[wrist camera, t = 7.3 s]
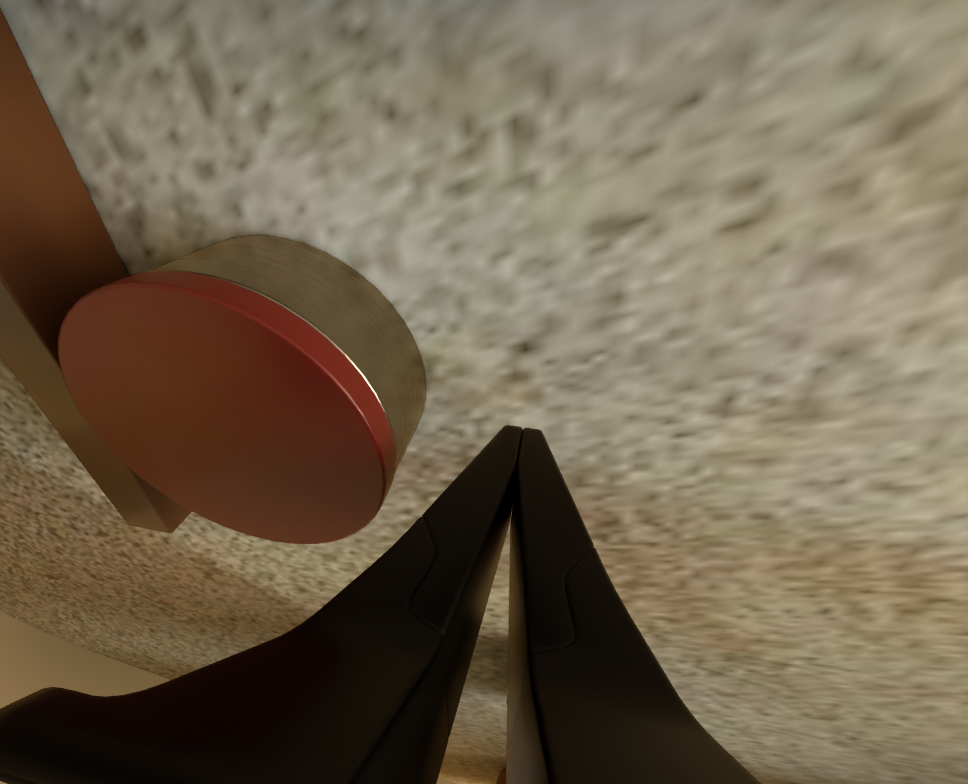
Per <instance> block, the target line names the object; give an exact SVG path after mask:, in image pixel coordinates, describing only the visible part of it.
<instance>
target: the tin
mask: <svg viewBox="0 0 968 784" xmlns="http://www.w3.org/2000/svg"><path fill="white" fill-rule="evenodd" d="M58 358H59V363H60V368H61V372H62V375H63V378H64V381H65V383H66V386H67V389H68V391H69V393H70V395H71V397H72V399H73V401H74V402H75V404H76V406H77V408H78V409H79V411H80V412H81V414H82V415H83V417H84V419H85V420H86V421H87V423H88V424H89V425H90V427H91V428H92V429H93V431H94V432H95V433H96V434H97V436H98V437H99V438H100V439H101V440H102V441H103V442H104V443H105V445H106V446H107V447H108V448H109V449H110V450H111V451H112V452H113V453H114V454H115V455H116V456H117V457H118V458H119V459H120V460H121V461H122V462H123V463H124V464H125V465H127V466H128V467H129V468H130V469H131V470H132V471H134V472H135V473H136V474H137V475H138V476H139V477H141V478H142V479H143V480H145V481H146V482H147V483H149V484H150V485H151V486H153V487H154V488H155V489H157V490H158V491H160V492H161V493H163V494H164V495H166V496H167V497H169V498H170V499H172V500H173V501H175V502H177V503H178V504H180V505H182V506H184V507H185V508H187V509H189V510H191V511H193V512H194V513H196V514H198V515H200V516H202V517H204V518H206V519H208V520H211V521H213V522H215V523H218V524H220V525H222V526H225V527H227V528H230V529H233V530H235V531H238V532H241V533H244V534H248V535H251V536H254V537H258V538H263V539H267V540H271V541H278V542H284V543H294V544H319V543H326V542H332V541H336V540H340V539H343V538H346V537H348V536H350V535H352V534H355V533H356V532H358V531H359V530H361V529H362V528H364V527H365V526H366V525H367V524H368V523H369V522H370V521H371V520H372V519H373V518H374V517H375V516H376V514H377V513H378V511H379V510H380V508H381V506H382V504H383V502H384V500H385V498H386V496H387V494H388V492H389V489H390V487H391V484H392V481H393V478H394V474H395V472H396V470H397V468H398V466H399V464H400V462H401V459H402V457H403V455H404V453H405V451H406V449H407V447H408V445H409V443H410V441H411V439H412V437H413V434H414V432H415V430H416V428H417V426H418V424H419V422H420V419H421V417H422V414H423V411H424V407H425V402H426V376H425V369H424V365H423V362H422V358H421V355H420V351H419V349H418V347H417V344H416V342H415V340H414V337H413V335H412V334H411V332H410V330H409V329H408V327H407V325H406V323H405V322H404V320H403V319H402V317H401V316H400V315H399V313H398V312H397V311H396V309H395V308H394V306H393V305H392V304H391V303H390V302H389V301H388V300H387V299H386V297H385V296H384V295H383V294H382V293H381V292H380V291H379V290H378V289H377V288H376V287H375V286H374V285H372V284H371V283H370V282H369V281H368V280H367V279H366V278H365V277H363V276H362V275H361V274H359V273H358V272H357V271H355V270H354V269H352V268H351V267H350V266H348V265H347V264H345V263H344V262H342V261H340V260H338V259H337V258H335V257H333V256H331V255H329V254H328V253H326V252H323V251H321V250H319V249H316V248H314V247H311V246H309V245H306V244H303V243H300V242H296V241H293V240H289V239H285V238H278V237H272V236H242V237H236V238H231V239H228V240H225V241H222V242H219V243H217V244H214V245H212V246H209V247H207V248H204V249H202V250H199V251H197V252H194V253H192V254H190V255H187V256H185V257H182V258H180V259H177V260H175V261H172V262H170V263H167V264H165V265H163V266H160V267H158V268H155V269H153V270H150V271H148V272H144V273H137V274H135V275H132V276H129V277H126V278H123V279H120V280H117V281H115V282H112V283H110V284H107V285H105V286H102V287H100V288H97V289H95V290H93V291H91V292H90V293H88V294H87V295H85V296H83V297H82V298H80V299H79V300H78V301H77V302H76V303H75V304H74V306H73V307H72V308H71V309H70V310H69V311H68V312H67V314H66V316H65V318H64V320H63V322H62V324H61V327H60V332H59V337H58Z"/></svg>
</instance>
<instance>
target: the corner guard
mask: <svg viewBox="0 0 968 784" xmlns="http://www.w3.org/2000/svg"><path fill="white" fill-rule="evenodd" d="M126 277H128V275H127V272H126V270H125V268H124V266H123V264H122V262H121V260H120V258H119V256H118V254H117V252H116V249H115V247H114V245H113V243H112V241H111V239H110V237H109V235H108V233H107V231H106V228H105V226H104V224H103V222H102V220H101V218H100V216H99V214H98V212H97V210H96V207H95V205H94V203H93V201H92V199H91V197H90V195H89V193H88V191H87V189H86V187H85V184H84V182H83V180H82V178H81V176H80V174H79V172H78V170H77V168H76V166H75V163H74V161H73V159H72V157H71V155H70V153H69V151H68V149H67V147H66V145H65V143H64V140H63V138H62V136H61V134H60V132H59V130H58V128H57V126H56V124H55V122H54V119H53V117H52V115H51V113H50V111H49V109H48V107H47V105H46V103H45V101H44V99H43V96H42V94H41V92H40V90H39V88H38V86H37V84H36V82H35V80H34V78H33V75H32V73H31V71H30V69H29V67H28V65H27V63H26V61H25V59H24V57H23V55H22V52H21V50H20V48H19V46H18V44H17V42H16V40H15V38H14V36H13V34H12V31H11V29H10V27H9V25H8V23H7V21H6V19H5V17H4V15H3V13H2V11H1V8H0V356H1V357H2V359H3V360H4V361H5V363H6V364H7V365H8V367H9V368H10V369H11V370H12V372H13V373H14V374H15V376H16V377H17V378H18V380H19V381H20V382H21V384H22V385H23V386H24V388H25V389H26V390H27V392H28V393H29V394H30V396H31V397H32V398H33V400H34V401H35V402H36V404H37V405H38V406H39V407H40V409H41V410H42V411H43V413H44V414H45V415H46V417H47V418H48V419H49V421H50V422H51V423H52V425H53V426H54V427H55V429H56V430H57V431H58V433H59V434H60V435H61V437H62V438H63V439H64V441H65V442H66V443H67V444H68V446H69V447H70V448H71V450H72V451H73V452H74V454H75V455H76V456H77V458H78V459H79V460H80V462H81V463H82V464H83V466H84V467H85V468H86V470H87V471H88V472H89V474H90V475H91V476H92V478H93V479H94V480H95V482H96V483H97V484H98V485H99V487H100V488H101V489H102V491H103V492H104V493H105V495H106V496H107V497H108V499H109V500H110V501H111V503H112V504H113V505H114V507H115V508H116V509H117V511H118V512H119V513H120V515H121V516H122V517H123V519H124V520H125V521H126V522H127V524H128V525H132V526H136V527H141V528H146V529H151V530H156V531H161V532H166V533H172V532H173V531H174V530H175V529H176V528H177V527H178V526H179V525H180V524H181V523H182V522H183V521H184V519H185V518H186V517H187V516H188V515H189V514H190V513H191V512H192V511H191V510H189V509H187V508H185V507H184V506H182V505H180V504H178V503H177V502H175V501H173V500H172V499H170V498H169V497H167V496H166V495H164V494H163V493H161V492H160V491H158V490H157V489H155V488H154V487H153V486H151V485H150V484H149V483H147V482H146V481H145V480H143V479H142V478H141V477H139V476H138V475H137V474H136V473H135V472H134V471H132V470H131V469H130V468H129V467H128V466H127V465H125V464H124V463H123V462H122V461H121V460H120V459H119V458H118V457H117V456H116V455H115V454H114V453H113V452H112V451H111V450H110V449H109V448H108V447H107V446H106V445H105V443H104V442H103V441H102V440H101V439H100V438H99V437H98V436H97V434H96V433H95V432H94V431H93V429H92V428H91V427H90V425H89V424H88V423H87V421H86V420H85V419H84V417H83V415H82V414H81V412H80V411H79V409H78V408H77V406H76V404H75V402H74V401H73V399H72V397H71V395H70V393H69V391H68V389H67V386H66V383H65V381H64V378H63V375H62V372H61V368H60V363H59V358H58V337H59V332H60V327H61V324H62V322H63V320H64V318H65V316H66V314H67V312H68V311H69V310H70V309H71V308H72V307H73V306H74V304H75V303H76V302H77V301H78V300H79V299H80V298H82V297H83V296H85V295H87V294H88V293H90V292H91V291H93V290H95V289H97V288H100V287H102V286H105V285H107V284H110V283H112V282H115V281H117V280H120V279H123V278H126Z"/></svg>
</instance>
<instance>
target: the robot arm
mask: <svg viewBox="0 0 968 784" xmlns="http://www.w3.org/2000/svg"><path fill="white" fill-rule="evenodd" d="M512 505H513V506H512ZM511 512H512V515H511ZM510 518H511V527H510V581H509V641H508V694H507V759H506V784H761V783H760V782H759V781H758V780H757V779H756V778H755V777H754V776H753V775H752V774H750V773H749V772H748V771H747V770H746V769H745V768H744V767H743V766H742V765H741V764H740V763H739V762H738V761H737V760H736V759H735V758H734V757H733V756H732V755H730V754H729V753H728V752H727V751H726V750H725V749H724V748H723V747H722V746H721V745H720V744H719V743H718V742H717V741H716V740H715V739H714V738H713V737H712V736H711V735H710V734H709V733H708V732H707V731H706V730H705V729H704V728H703V727H702V726H701V725H700V723H699V722H698V721H697V720H696V719H695V717H694V716H693V715H692V714H691V712H690V711H689V710H688V708H687V707H686V706H685V704H684V703H683V701H682V700H681V699H680V697H679V695H678V694H677V692H676V691H675V689H674V687H673V686H672V684H671V683H670V681H669V679H668V678H667V676H666V674H665V673H664V671H663V669H662V668H661V666H660V664H659V663H658V661H657V659H656V658H655V656H654V654H653V653H652V651H651V649H650V648H649V646H648V644H647V643H646V641H645V639H644V638H643V636H642V635H641V633H640V631H639V630H638V628H637V626H636V625H635V623H634V621H633V620H632V618H631V616H630V615H629V613H628V611H627V609H626V608H625V606H624V604H623V602H622V601H621V599H620V597H619V595H618V594H617V592H616V590H615V588H614V586H613V584H612V582H611V580H610V578H609V576H608V574H607V572H606V570H605V568H604V566H603V564H602V562H601V559H600V557H599V555H598V553H597V551H596V549H595V548H593V547H594V545H593V542H592V540H591V538H590V536H589V534H588V531H587V529H586V527H585V525H584V523H583V520H582V518H581V516H580V514H579V512H578V509H577V507H576V505H575V503H574V501H573V498H572V496H571V494H570V492H569V490H568V487H567V485H566V483H565V481H564V479H563V477H562V474H561V472H560V470H559V468H558V466H557V463H556V461H555V459H554V457H553V455H552V452H551V450H550V448H549V446H548V444H547V441H546V439H545V437H544V435H543V433H542V431H541V430H538V429H531V428H524V429H522V428H521V427H517V426H510V425H506V426H504V427H503V428H502V429H501V430H500V431H499V432H498V433H497V434H496V436H495V437H494V438H493V439H492V440H491V441H490V442H489V443H488V444H487V445H486V446H485V448H484V449H483V450H482V451H481V452H480V453H479V454H478V455H477V456H476V457H475V458H474V459H473V461H472V462H471V463H470V464H469V465H468V466H467V467H466V468H465V469H464V470H463V471H462V472H461V474H460V475H459V476H458V477H457V478H456V479H455V480H454V481H453V482H452V483H451V484H450V486H449V487H448V488H447V489H446V490H445V491H444V492H443V493H442V494H441V495H440V496H439V497H438V499H437V500H436V501H435V502H434V503H433V504H432V505H431V506H430V507H429V508H428V509H427V510H426V512H425V513H424V514H423V515H422V517H420V518H419V519H418V520H417V521H416V522H415V523H414V524H413V525H412V527H411V528H410V529H409V530H408V531H407V532H406V533H405V534H404V535H403V536H402V537H401V538H400V539H399V540H398V541H397V542H396V543H395V544H394V545H393V546H392V547H391V548H390V549H389V550H388V551H387V552H385V553H384V554H383V555H382V556H381V557H380V558H379V559H378V560H377V561H376V562H374V563H373V564H372V565H371V566H370V567H369V568H368V569H366V570H365V571H364V572H363V573H362V574H361V575H359V576H358V577H357V578H356V579H355V580H354V581H352V582H351V583H350V584H349V585H348V586H347V587H345V588H344V589H343V590H342V591H341V592H340V593H338V594H337V595H336V596H335V597H334V598H333V599H331V600H330V601H329V602H328V603H327V604H326V605H324V606H323V607H322V608H321V609H320V610H319V611H317V612H316V613H315V614H314V615H313V616H311V617H310V618H309V619H307V620H306V621H304V622H303V623H302V624H300V625H299V626H297V627H295V628H294V629H292V630H291V631H289V632H287V633H285V634H283V635H281V636H279V637H277V638H275V639H272V640H270V641H267V642H265V643H262V644H260V645H257V646H255V647H252V648H250V649H247V650H245V651H242V652H240V653H237V654H235V655H232V656H230V657H227V658H225V659H222V660H220V661H217V662H215V663H213V664H210V665H208V666H205V667H203V668H200V669H198V670H195V671H193V672H190V673H188V674H185V675H183V676H180V677H178V678H175V679H173V680H170V681H168V682H165V683H163V684H160V685H157V686H154V687H152V688H149V689H146V690H143V691H139V692H134V693H130V694H126V695H119V696H109V697H102V696H92V695H89V694H85V693H80V692H77V691H73V690H68V689H64V688H56V687H50V688H44V689H41V690H39V691H37V692H34V693H32V694H30V695H28V696H26V697H24V698H22V699H20V700H17V701H15V702H13V703H11V704H9V705H7V706H5V707H3V708H1V709H0V781H2V782H5V783H7V784H436V782H437V779H438V775H439V772H440V768H441V765H442V761H443V758H444V754H445V751H446V747H447V743H448V737H449V736H450V733H451V729H452V725H453V722H454V718H455V715H456V711H457V708H458V704H459V701H460V697H461V694H462V690H463V686H464V683H465V679H466V676H467V672H468V669H469V665H470V662H471V658H472V655H473V651H474V647H475V644H476V640H477V637H478V633H479V630H480V626H481V623H482V619H483V616H484V612H485V608H486V605H487V601H488V598H489V594H490V591H491V587H492V584H493V580H494V577H495V573H496V569H497V566H498V562H499V559H500V555H501V552H502V548H503V545H504V541H505V538H506V534H507V530H508V526H509V522H510Z"/></svg>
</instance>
